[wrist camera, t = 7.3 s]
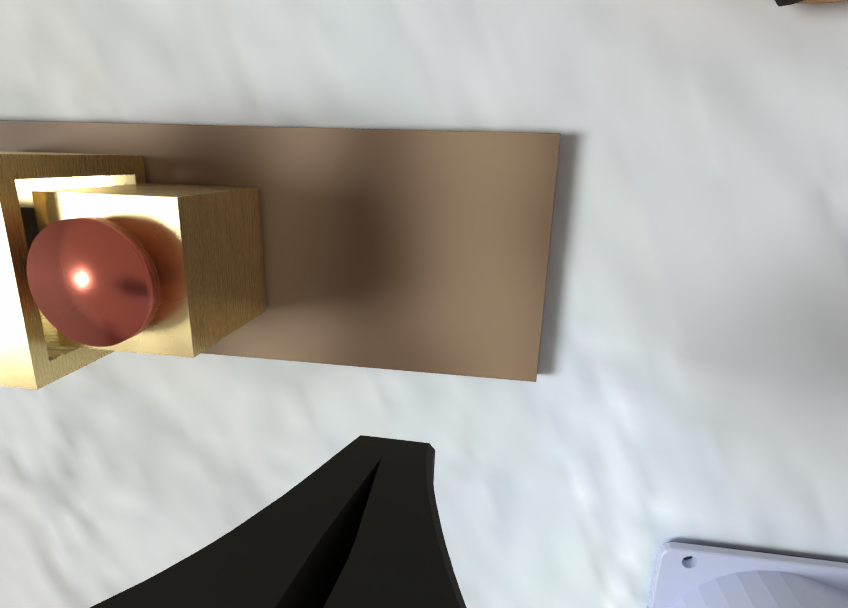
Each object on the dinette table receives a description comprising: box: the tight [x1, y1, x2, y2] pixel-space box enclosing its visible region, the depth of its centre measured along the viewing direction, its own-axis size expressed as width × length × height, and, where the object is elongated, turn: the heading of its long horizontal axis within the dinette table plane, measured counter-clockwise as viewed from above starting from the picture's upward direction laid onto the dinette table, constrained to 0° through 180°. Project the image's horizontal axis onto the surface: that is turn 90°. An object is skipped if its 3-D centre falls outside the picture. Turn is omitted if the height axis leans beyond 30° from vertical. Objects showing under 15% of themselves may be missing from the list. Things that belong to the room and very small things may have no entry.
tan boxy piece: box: [0, 151, 266, 389], centre depth 15 cm, size 9×6×5 cm, turn 89°
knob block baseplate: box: [0, 121, 560, 382], centre depth 16 cm, size 24×8×5 cm, turn 89°
